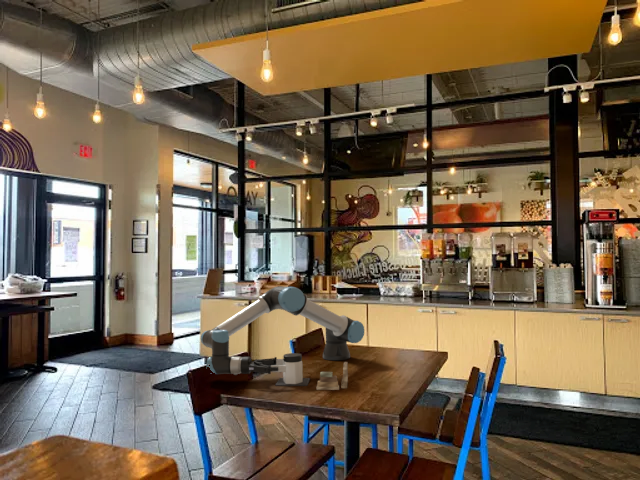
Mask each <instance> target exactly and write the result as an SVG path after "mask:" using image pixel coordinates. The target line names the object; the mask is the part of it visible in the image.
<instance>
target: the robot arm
mask: <svg viewBox="0 0 640 480" xmlns="http://www.w3.org/2000/svg"><path fill="white" fill-rule="evenodd" d="M276 310H283V311H285V312H287V313H289V314H292V315H293V316H299V315H300V316H302V317H304V318H306V319H308V320H309V321H312V322H314V323H316V324H318V325H320V326H322V327H324V328H325V346H324V349H323V353H322V359H323V360H328V361H344V360H345V361H346V360H349V359H350V358H351V353H350V350H349V347H348V344H347V343H350V344H358V343H359V342H361V341H362V340H363V338H364V335H365V326H364V324H363V323H362V321H359V320H354V319H353V318H352V319H351V318H350V317H348V316H346V315H344V314H343V315H338V314H336V313H335V312H332V311H331V310H329V309H327V308H325V307H323V306H321V305H319V304H318V303H316V302H315V301H314V302H313V301H312V300H310V299H309V298H308V295H307V294H305V293H303V291H302V290H301V289H300V288H298V287H295V286H285V285H284V286H282V285H278V286H275V287H272V288H271V289H269V290H267V291H266V292H264V293H262V294H261V295H259V296H258V297H257V300H255V301H254V302H252V303H251V304H249V305H247V306H246V307H244V308H243V309H242V310H240V311H238V312H237V313H235V314H233V315H232V316H231V317H229V318H228V319H226V320H225V321H223V322H221V323H220V324H218V325H217V326H215V327H213V328H212V329H211V330H210V329H209V330H205V331H203V332H202V334H201V335H200V342H201V344H202V345H203V346H204V347H206V348H210V349H211V356H209V357H208V358H207V360H206V368H207V367H209V368H210V370H211V371H212V372H213V373H215V375H224V374H225V375H226V374H227V375H228V374H229V375H230V374H231V375H232V374H233V375H234V376H237V375H238V374H239V375H240V374H242V375H250V374H251V373H252V372H254V373H262V374H268V375H271V373H283V372H286V365H283V358H277V357H276V356H274V357H271V358H260V359H257V358H256V359H254V360H253V361H252V357H251V356H230V337H231V336H232V335H234V334H235V333H237V332H238V331H240V330H242V329H243V328H245V327H246V326H247V325H249V324H251V323H252V322H254V321H255V320H257V319H258V318H259V317H261V316H263V315H264V314H269V313H270V312H272V311H276ZM208 364H209V365H210V366H209V365H208Z"/></svg>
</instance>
